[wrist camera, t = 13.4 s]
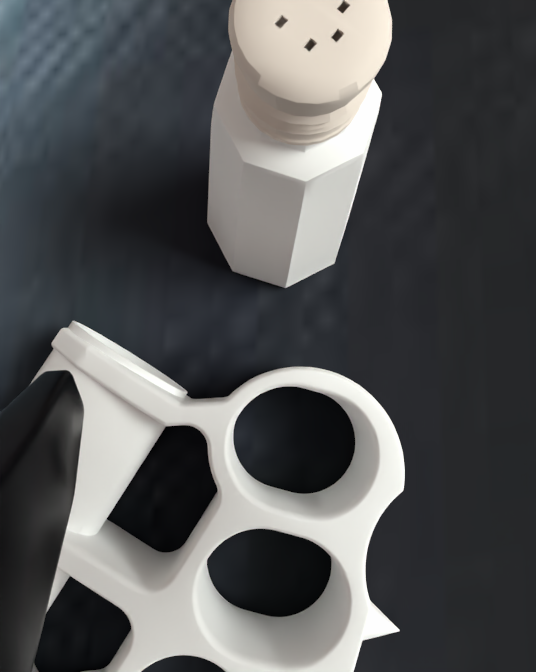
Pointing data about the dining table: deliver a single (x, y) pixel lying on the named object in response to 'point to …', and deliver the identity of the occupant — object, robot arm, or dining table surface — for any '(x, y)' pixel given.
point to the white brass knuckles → (218, 518)
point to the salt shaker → (293, 131)
